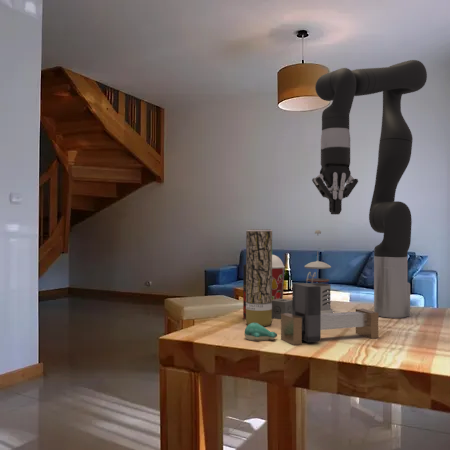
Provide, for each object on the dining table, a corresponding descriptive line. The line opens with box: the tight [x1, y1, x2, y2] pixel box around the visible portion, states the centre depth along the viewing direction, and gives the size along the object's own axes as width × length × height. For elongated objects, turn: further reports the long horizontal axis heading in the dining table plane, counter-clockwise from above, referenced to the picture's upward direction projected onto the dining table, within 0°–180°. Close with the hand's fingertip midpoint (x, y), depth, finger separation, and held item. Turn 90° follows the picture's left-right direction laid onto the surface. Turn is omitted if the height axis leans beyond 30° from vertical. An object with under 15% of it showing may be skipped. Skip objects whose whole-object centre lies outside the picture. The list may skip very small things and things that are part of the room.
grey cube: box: [272, 298, 292, 320], centre depth 135 cm, size 5×5×5 cm
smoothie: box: [272, 254, 286, 300], centre depth 146 cm, size 8×8×20 cm
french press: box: [304, 229, 335, 314], centre depth 145 cm, size 10×12×25 cm
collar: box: [291, 282, 322, 344], centre depth 107 cm, size 3×7×12 cm, turn 20°
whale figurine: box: [244, 323, 278, 342], centre depth 108 cm, size 6×7×4 cm
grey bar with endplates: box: [280, 308, 379, 346], centre depth 109 cm, size 22×6×6 cm, turn 110°
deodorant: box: [242, 263, 246, 321], centre depth 133 cm, size 6×6×15 cm
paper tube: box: [245, 228, 273, 327], centre depth 125 cm, size 7×7×25 cm
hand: (335, 214), depth 123 cm, fingers closed
